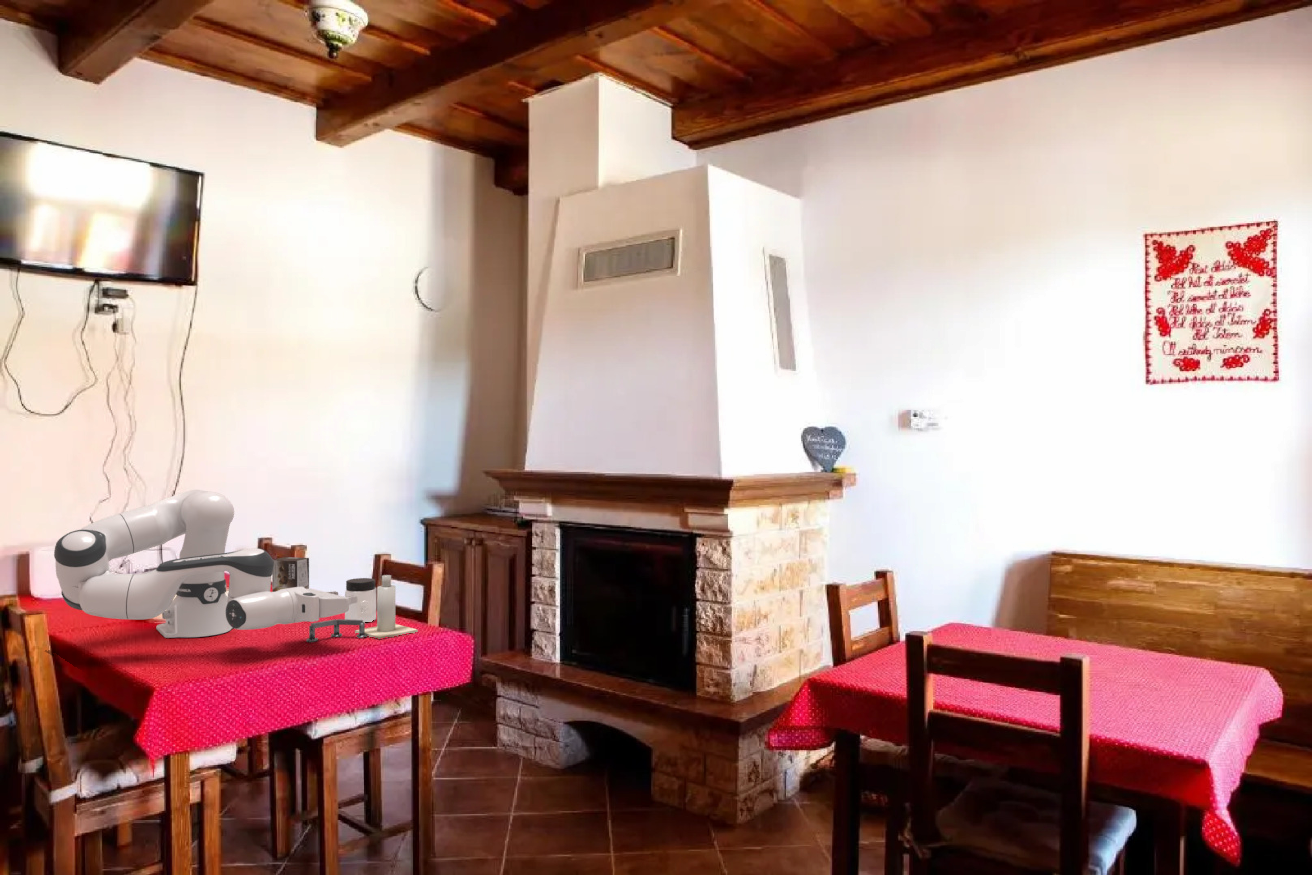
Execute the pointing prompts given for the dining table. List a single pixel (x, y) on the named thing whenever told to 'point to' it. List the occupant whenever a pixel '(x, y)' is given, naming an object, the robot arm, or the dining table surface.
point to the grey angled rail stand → (336, 628)
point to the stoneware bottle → (386, 605)
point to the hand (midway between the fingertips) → (346, 596)
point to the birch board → (398, 631)
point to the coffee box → (290, 573)
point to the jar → (361, 599)
